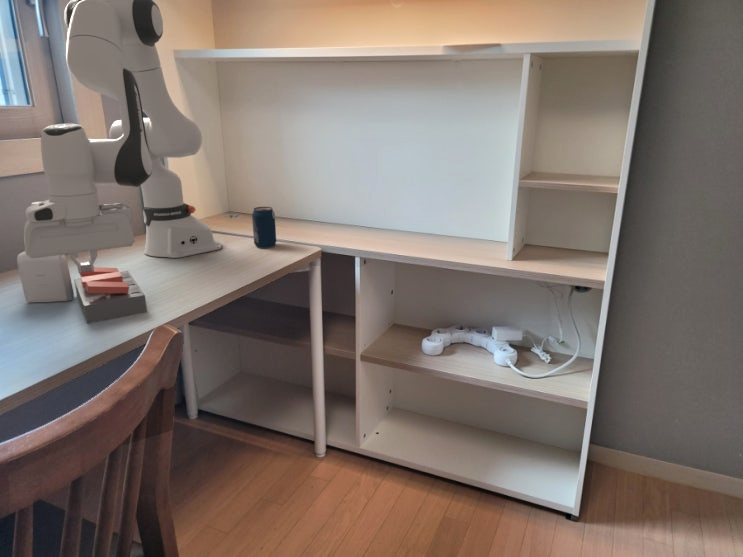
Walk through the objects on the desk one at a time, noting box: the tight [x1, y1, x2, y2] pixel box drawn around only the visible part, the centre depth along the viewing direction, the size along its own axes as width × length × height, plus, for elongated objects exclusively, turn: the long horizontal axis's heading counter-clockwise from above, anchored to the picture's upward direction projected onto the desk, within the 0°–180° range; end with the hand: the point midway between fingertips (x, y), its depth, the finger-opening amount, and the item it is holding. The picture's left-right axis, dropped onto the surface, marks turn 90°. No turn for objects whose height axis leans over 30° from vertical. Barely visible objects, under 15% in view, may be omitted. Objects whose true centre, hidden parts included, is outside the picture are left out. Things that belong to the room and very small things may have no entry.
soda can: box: [251, 206, 277, 249], centre depth 170 cm, size 7×7×12 cm
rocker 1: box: [79, 266, 120, 278], centre depth 128 cm, size 8×4×1 cm, turn 123°
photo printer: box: [16, 251, 75, 303], centre depth 125 cm, size 10×4×12 cm, turn 95°
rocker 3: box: [85, 281, 129, 293], centre depth 119 cm, size 8×4×1 cm, turn 123°
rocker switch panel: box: [73, 270, 148, 324], centre depth 125 cm, size 12×20×5 cm, turn 33°
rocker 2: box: [80, 271, 123, 288], centre depth 123 cm, size 8×4×1 cm, turn 123°
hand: (86, 271), depth 115 cm, fingers closed
